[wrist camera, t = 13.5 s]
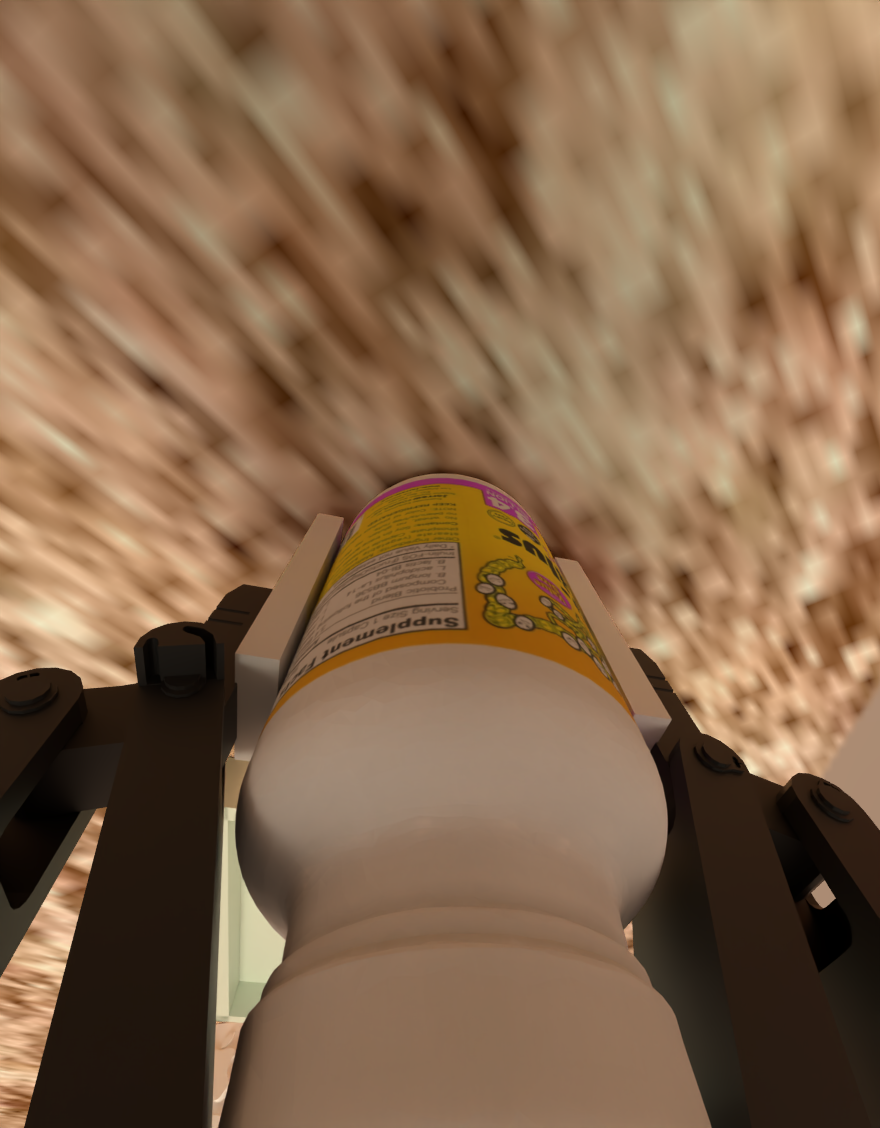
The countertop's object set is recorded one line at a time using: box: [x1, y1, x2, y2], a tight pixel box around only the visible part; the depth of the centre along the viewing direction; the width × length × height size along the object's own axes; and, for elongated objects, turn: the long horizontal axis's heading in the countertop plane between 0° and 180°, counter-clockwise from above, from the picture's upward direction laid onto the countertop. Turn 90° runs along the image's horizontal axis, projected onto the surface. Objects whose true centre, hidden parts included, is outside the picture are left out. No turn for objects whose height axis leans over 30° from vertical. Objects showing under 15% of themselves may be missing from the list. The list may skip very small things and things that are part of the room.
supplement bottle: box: [218, 473, 712, 1128], centre depth 10 cm, size 7×7×13 cm
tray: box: [216, 757, 286, 1023], centre depth 24 cm, size 20×16×2 cm
